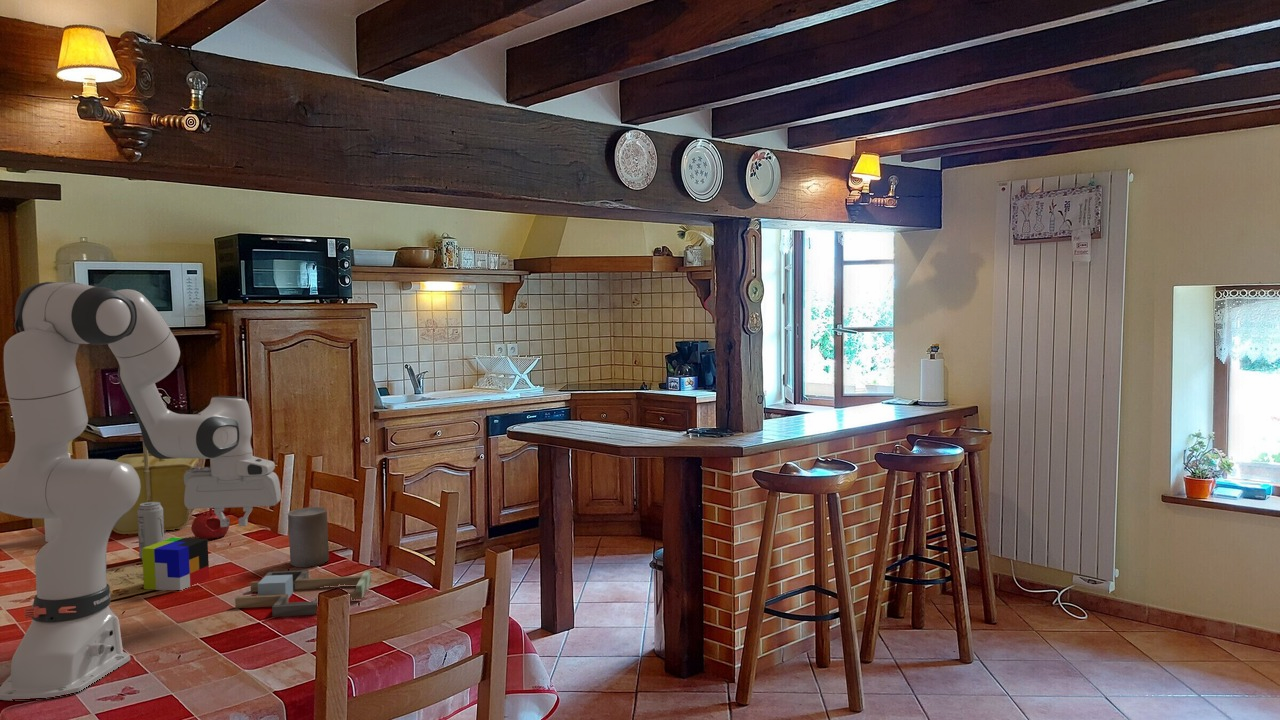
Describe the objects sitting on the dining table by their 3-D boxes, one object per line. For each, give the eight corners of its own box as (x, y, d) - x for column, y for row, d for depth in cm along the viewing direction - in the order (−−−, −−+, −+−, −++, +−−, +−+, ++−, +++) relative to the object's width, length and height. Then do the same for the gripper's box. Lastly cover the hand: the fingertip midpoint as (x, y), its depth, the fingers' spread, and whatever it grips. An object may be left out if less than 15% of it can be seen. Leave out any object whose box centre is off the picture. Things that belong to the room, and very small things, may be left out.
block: (285, 601, 199) (285, 582, 199) (258, 603, 198) (257, 583, 198) (293, 593, 205) (292, 574, 204) (266, 594, 204) (265, 575, 204)
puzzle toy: (180, 591, 207) (178, 550, 206) (143, 589, 209) (142, 548, 208) (209, 578, 216) (207, 539, 216) (174, 576, 218) (172, 537, 218)
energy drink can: (163, 560, 233) (161, 504, 232) (137, 563, 230) (135, 507, 229) (166, 554, 238) (164, 500, 237) (141, 557, 236) (139, 502, 235)
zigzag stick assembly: (355, 612, 191) (355, 596, 191) (224, 619, 187) (224, 603, 187) (375, 575, 217) (375, 561, 217) (261, 581, 214) (260, 567, 213)
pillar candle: (334, 556, 234) (331, 501, 233) (322, 567, 224) (319, 509, 224) (297, 557, 234) (295, 502, 233) (284, 568, 224) (281, 511, 223)
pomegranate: (184, 541, 253) (182, 509, 252) (210, 532, 262) (208, 501, 262) (212, 542, 250) (210, 510, 249) (237, 533, 259) (235, 502, 259)
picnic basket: (119, 517, 283) (115, 425, 281) (207, 509, 292) (204, 420, 290) (99, 539, 256) (94, 437, 254) (197, 530, 265) (193, 432, 263)
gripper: (178, 470, 194) (180, 531, 195) (274, 467, 197) (276, 527, 197) (188, 465, 200) (191, 524, 201) (281, 462, 203) (283, 520, 204)
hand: (234, 526), depth 199 cm, fingers open, 3 cm apart
